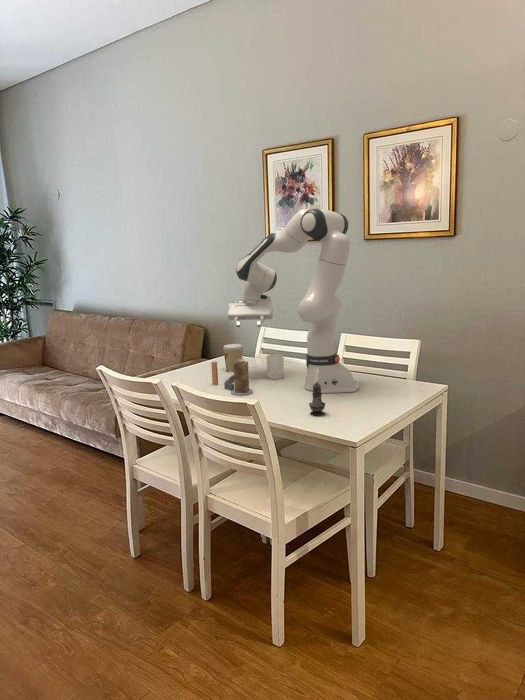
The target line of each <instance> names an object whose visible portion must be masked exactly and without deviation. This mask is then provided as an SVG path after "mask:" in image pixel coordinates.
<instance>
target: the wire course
mask: <svg viewBox="0 0 525 700" xmlns="http://www.w3.org/2000/svg"><path fill="white" fill-rule="evenodd" d="M210 364H211V365H210V366H211V382H212V385H213V384H215V385H214V386H218V384H219V374H218V373H219V372H218V371H219V369H218V361H211V362H210ZM223 385H224V389H225V390H228V389H229V391H231V390H234V389H235V382H234V375H231V376H230V377H228V378H227V379H226V381H224V383H223Z"/></svg>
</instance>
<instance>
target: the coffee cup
mask: <svg viewBox="0 0 525 700" xmlns="http://www.w3.org/2000/svg"><path fill="white" fill-rule="evenodd" d="M243 348H244V347H243V345H242V344H239V343H231V344H225V345H223V355H224V362H225V369H226V370H225V371H226V372H228V371H230V372H229V373H234V363H235V362H237V360H238V359H243Z"/></svg>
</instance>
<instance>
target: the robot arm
mask: <svg viewBox="0 0 525 700" xmlns="http://www.w3.org/2000/svg"><path fill="white" fill-rule="evenodd" d="M348 230H349V221H348V218H347V217H346V216H345V214H343V213H340V212H338V211H332V210H330V209H323V208H321V209H319V208H312V209H308V208H301V209H300V210H298V211H297V212H296V213H295V214H294V215H293V216H292V217H291V218H290V220H289V221H288V222H287V223H286V224H285V226H284V227H283V228H282V229H281V230H279V231H277V232H271V233H269V234H268V235H267V236H265V238H263V240H261V241H260V242H259V243H258V244H257V245H256V246H255V247H254V248H253V249H252V250H251V251H250V252H249V253H248V254H246V256H244V257H243V258H241V260H239V262H238V263H237V265H236V267H235V273H236V275H237V277H238V279H239V280H242V281H244V282H245V283H244V292H243V294H242V300H241V301H240V300H239V301H235V300H234V301H231V302H230V303H229V305H228V309H227V318H228V319H229V320H230V321H235V326H236V328H241V322H240V321H248V320H249V321H250V320H251V321H253V320H254V321H255V320H256V321H257V320H258V321H257V324H256V326H257V328H261V327H262V325H263V323H264V322H265V321H266V320H272V319H273V318H274V307H273V304H272V299H271V296H270V295H266V294H264V293H267V292H269V291H271V290H273V289H274V287H275V286H276V284H277V279H278V277H277V272H276V270H275V269H273V268H271V267H269V266H267V265H264V264H262V263H260V262H259V261H260V260H261V259H262V258H263V257H264V256H265V255H266V254H267V253H270V252H278V253H279V252H281V253H286V254H294V253H297V252H298V251H300V250H302V248H303V247H304V246H305V245H306V243H307V242H308V241H309V240H310V238H311V239H312V241H315V242H320V243H321V247H320V248H321V249H320V252H319V257H318V261H317V264H316V268H315V270H314V275H313V278H312V280H311V282H310V284H309V286H308V289H307V290H306V293H305V294H304V297H303V298H302V300H301V301H300V302H299V303H298V306H297V314H298V316H299V318H300V319H301V321H303V322H305V323H310V327H309V331H308V332H307V336H306V344H307V345H306V346H307V347H306V348H307V349H306V350H307V353H306V357H305V359H306V360H305V364H306V376H305V383H304V386H303V388H304V389H306V390H308V391H312V392H313V385H314V384H315V383H316V381H317V383H318V384H320V385H321V393H322V394H335V393H336V394H338V393H355V392H356V391H358V390H359V389H358V388H360V386H359V385H360V384H359V383H358V382H357V381H355V380H354V377H353V373H352V371H351V370H350V369H349V368H347V366H345V365H343V364H342V363H341V362H340V360H341V358H340V354H336V353H335V332H336V327H337V322H338V317H339V313H340V311H341V308H342V301H341V299H340V297H339V296H338V295H337V294H336V292H337V290H338V288H339V287H340V285H341V284H342V282H343V277H344V273H345V270H346V267H347V263H348V259H349V256H350V255H349V254H350V245H351V241H350V238H349V237H348V236H347V235H346V234H347V232H348ZM239 320H240V321H239Z"/></svg>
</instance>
